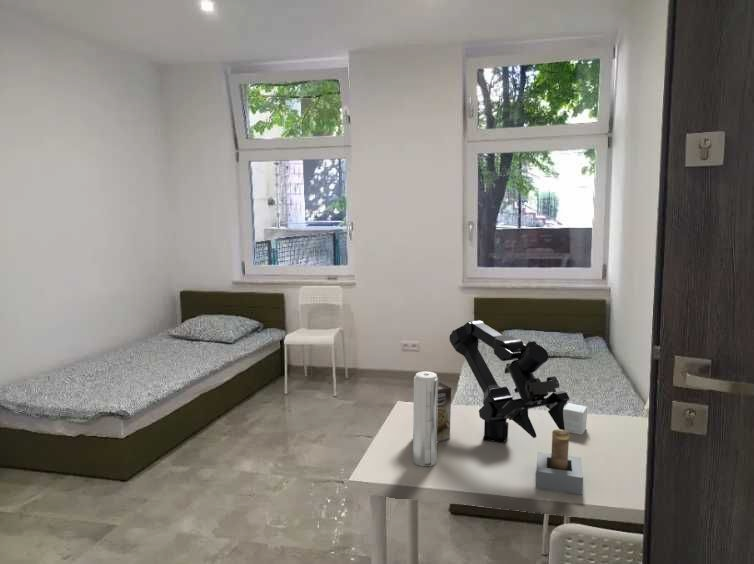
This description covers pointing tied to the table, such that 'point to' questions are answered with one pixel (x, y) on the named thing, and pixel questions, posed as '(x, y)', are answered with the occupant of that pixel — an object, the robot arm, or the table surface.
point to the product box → (575, 418)
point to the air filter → (425, 418)
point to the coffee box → (443, 412)
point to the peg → (559, 449)
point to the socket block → (559, 475)
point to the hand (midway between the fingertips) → (549, 434)
